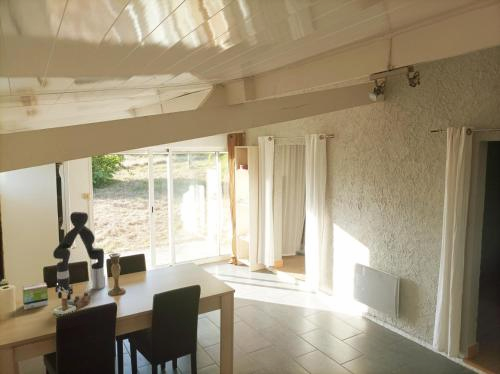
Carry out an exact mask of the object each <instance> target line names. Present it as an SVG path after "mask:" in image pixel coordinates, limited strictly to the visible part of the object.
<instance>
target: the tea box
mask: <svg viewBox="0 0 500 374" xmlns="http://www.w3.org/2000/svg"><path fill="white" fill-rule="evenodd" d="M48 296H49V295H48V285H47V283H46V282H40V283H35V284H30V285H29V284H28V285H23V286H22V304H23V309H24V310H28V309H33V308H38V307H39V308H40V307H43V306H44V305H45V306H48V305H49V302H48V301H49V300H48V299H49V298H48Z"/></svg>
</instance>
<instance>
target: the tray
mask: <svg viewBox="0 0 500 374" xmlns="http://www.w3.org/2000/svg"><path fill="white" fill-rule="evenodd" d="M71 311H73V312H75V311H77V309H76V306H72V305H68V310H66V311H62V305H60V306H59V307H56V308H55V309H53V314H54V313H55V315H59V314H64V313H68V312H71ZM71 313H72V312H71Z"/></svg>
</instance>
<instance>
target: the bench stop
mask: <svg viewBox="0 0 500 374" xmlns="http://www.w3.org/2000/svg"><path fill="white" fill-rule="evenodd" d="M79 296H80V295H76V296H75V297H74V298H75V300H74V306H76V310H78V309H79V308H82V307H84V306H85V305H88V304H90V303H91V295H90V294H89V292H88V291H86V292H83V295H82V296H80V297H79Z"/></svg>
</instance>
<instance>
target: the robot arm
mask: <svg viewBox="0 0 500 374" xmlns="http://www.w3.org/2000/svg"><path fill="white" fill-rule="evenodd" d="M69 217H70V222H71V224H72V226H74V227H73V228H72V229H70V230H69V231H68V232H67V233H66V234H65V235H64V237H63V239H62V241H61V242H60V243H59V244H58V246H57V247H56V248H55V249H54V250H53V254H52V255H53V258H54V259H57V260H61V261H59V262H57V264H56V280H57V281H56V283H55V285H54V287H55V293H57V297H58V299H62V298H63V295H62V292H64V293H65V294H66V298H67V301H69V300H72V294H74V291H73V290H74V289H73V285H69V284H70V271H69V262H70V257H71V251H70V248H72V247H73V244H74V242H75V240H76V239H77V237H78V235H79V238H80V239H81V241H82V243H83V245H84V248H85V249H86V252H87V255H88V258H89V259H91V260H95V261H97V262H94V263H92V264H91V282H92V283H91V285H92V290H102V289H104V288H105V287H106V275H105V273H104V272H105V271H104V270H105V269H104V263H105V251H104V249H103V248H99V247H98V248H97V247H95V248H94V247H93V244H94V242H95V238H96V237H95V236H94V232H93V231H92V230H91V229H90V228H89V227H88V226H86V224H87V222H88V220H89V214H88V213H87V212H85V211H74V212H71V214H70V216H69Z"/></svg>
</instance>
